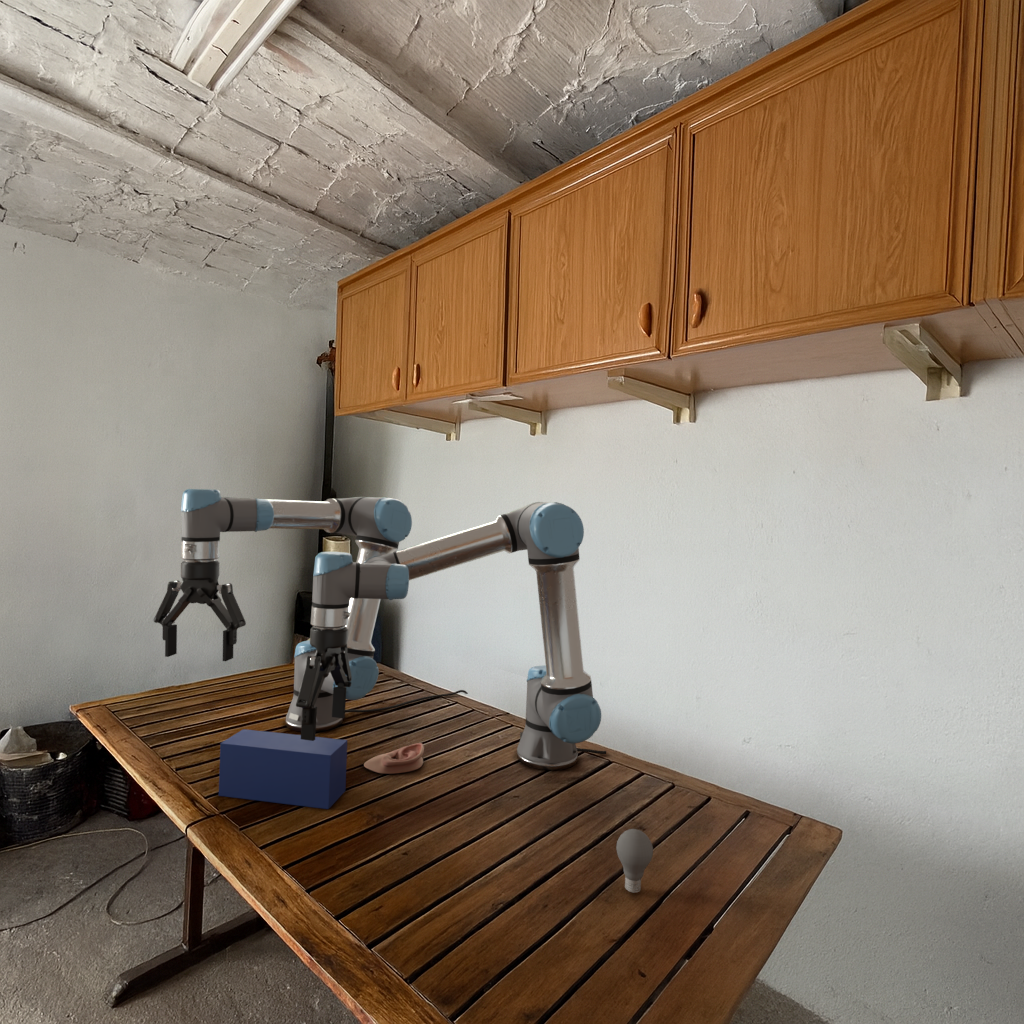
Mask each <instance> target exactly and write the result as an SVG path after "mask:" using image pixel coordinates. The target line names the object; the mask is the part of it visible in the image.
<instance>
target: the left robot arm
mask: <svg viewBox="0 0 1024 1024" xmlns="http://www.w3.org/2000/svg"><path fill="white" fill-rule="evenodd" d="M180 513H181V516H180V517H181V519H180V520H181V521H180V522H181V526H180V527H181V537H180V539H181V540H180V542H181V543H180V559H182V561H181V563H180V578H181V581H180V580H179V579H178V580H177V579H175V580H171V581H168V582H167V588H166V592H165V594H164V597H163V598H162V601H161V603H160V605H159V607H158V609H157V611H156V613H155V615H154V618H153V623H156V624H157V623H158V624H160V625H161V626H162V636H161V637H162V641H164V657H165V658H169V657H172V656H174V655H177V654H178V653H177V652H178V649H177V648H178V624H175V623H176V621H177V620H178V618H179V617H180V616H181V615H182V613H183V612H184V611H185V610H186V608H188V607H189V605H190V604H200V605H205V604H206V605H207V606H208V607H210V608H211V610H212V611H213V613H214V614H215V616H216V617H217V618H218V620H219V621H220V622H221V623H222V625H223V626H224V628H225V630H223V631H222V662H228V661H230V660H232V659H234V645H237V642H238V636H237V635H238V629H240V628H243V627H245V626H246V625H247V622H246V620H245V617H244V615H243V613H242V611H241V608H240V606H239V604H238V601H237V599H236V596H235V594H234V588H233V587H234V586H233V584H232V583H231V582H228V583H224V584H220V583H219V577H220V561H219V560H217V559H220V557H221V545H220V544H221V533H227V532H228V533H230V532H232V533H235V532H236V533H237V532H241V533H242V532H255V533H257V532H262V531H267V530H269V529H277V530H278V529H284V530H285V529H286V530H289V529H290V530H293V529H294V530H324V531H325V532H326V533H328V534H329V533H330V534H342V535H348V536H352V537H355V540H354V543H356V545H357V547H358V553H357V557H356V561H355V562H356V563H364V562H365V561H366V560H368V559H369V558H371V557H374V556H383V555H386V554H389V553H393V552H396V551H399V550H398V549H399V545H400V543H401V542H402V541H404V540H406V538H408V536H409V535H410V533H411V531H412V526H413V518H412V514H411V512H410V510H409V508H408V506H407V505H406V504H405V503H404V502H403V501H401V500H400V499H397V498H391V497H387V496H384V497H382V496H381V497H379V496H355V497H354V496H353V497H344V498H327V499H326V500H324V501H317V500H316V501H315V500H297V499H296V500H293V499H274V498H258V497H254V498H252V497H251V498H250V497H232V496H231V497H230V496H222V494H221V491H220V490H219V489H211V488H209V489H208V488H188V489H185V490H183V492H182V496H181V505H180ZM180 591H181V592H182V593H183V594H182V595H181V596H180V597H179V599H178V600H177V597H178V595H179V593H180ZM218 593H219V594H220V596H221V597H220V596H219V594H218ZM176 600H177V602H176ZM381 600H382V599H364V598H358V599H354V598H350V601H349V612H350V616H349V617H348V625H346V626H345V627H347V629H348V638H347V654H348V659H349V665H350V670H351V676H352V680H351V687H346V700H347V701H357V700H360V699H363V698H364V697H365V696H367V694H370V692H371V691H372V690H373V689H374V687H375V685H376V684H377V682H378V678H379V674H380V672H379V671H380V670H379V669H380V668H379V666H378V665H377V664H378V663H377V662H376V660H375V659H374V656H375V652H376V649H375V647H374V646H373V644H372V639H373V635H374V629H375V627H376V622H377V617H378V613H379V609H380V603H381ZM222 601H223V602H222ZM175 602H176V604H175V605H174V603H175ZM307 640H308V639H307ZM307 640H304V641H300V642H299V643H297V644H296V646H295V650H294V655H293V657H294V672H293V673H294V674H293V695H292V696H293V697H292V699H291V702H290V704H289V708H288V711H287V713H286V715H285V726H286V728H287V729H289V730H291V731H294V732H295V731H296V732H301V724H302V707H297V706H296V702H297V699H298V695H299V691H300V688H301V684H302V680H303V676H304V673H305V669H306V662H307V657H308V656H315V653H316V648H315V647H313V646H311V645H310V640H308V641H307ZM346 676H347V675H346ZM333 687H338V686H336V684H335V682H334V680H333V677H332V675H331V673H330V672H329V675H328V676H327V677H326V678H325V679H324V682H323V685H322V687H321V690H320V693H319V695H318V698H317V701H316V704H315V706H314V707H317V716H316V733H317V732H325V731H329V730H332V729H335V728H337V727H339V726H340V725H342V723H343V722H344V718H336V717H332V704H333ZM460 693H464V695H468V694H469V693H468V692H467V691H466V690H464V689H459V690H457V691H453V692H451V693H442V694H435V695H428V696H423V697H419V698H416V699H411V700H408V701H407V700H406V701H404V702H401V703H398V704H395V705H390V706H385V707H380V708H372V709H345V713H372V712H373V713H374V712H381V711H386V710H390V709H391V710H392V709H396V708H399V707H402V706H405V705H408V704H412V703H416V702H420V701H424V700H428V699H434V698H441V697H442V698H443V697H450V696H454V695H458V694H460Z"/></svg>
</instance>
